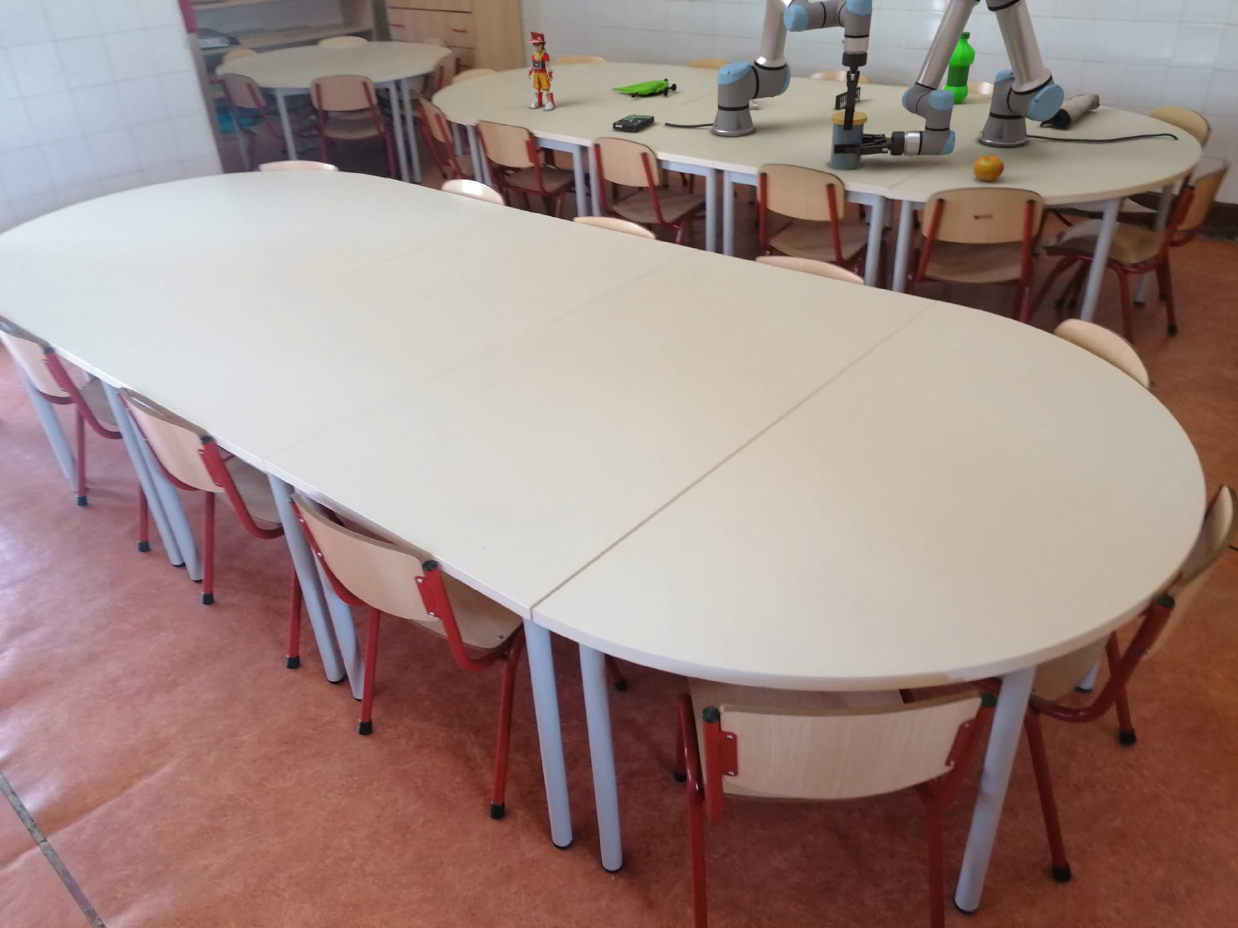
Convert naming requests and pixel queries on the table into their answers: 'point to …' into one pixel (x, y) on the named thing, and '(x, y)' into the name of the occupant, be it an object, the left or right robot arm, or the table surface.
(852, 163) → the jar
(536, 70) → the toy
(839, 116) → the lid
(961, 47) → the plastic bottle
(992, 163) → the fruit
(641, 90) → the toy
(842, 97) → the midi keyboard
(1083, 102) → the rolled mat
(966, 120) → the table surface
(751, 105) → the anatomical model
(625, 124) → the disk drive
